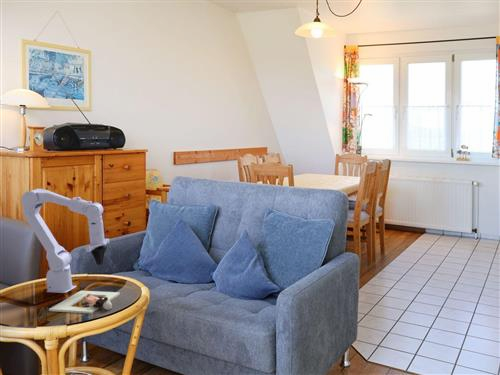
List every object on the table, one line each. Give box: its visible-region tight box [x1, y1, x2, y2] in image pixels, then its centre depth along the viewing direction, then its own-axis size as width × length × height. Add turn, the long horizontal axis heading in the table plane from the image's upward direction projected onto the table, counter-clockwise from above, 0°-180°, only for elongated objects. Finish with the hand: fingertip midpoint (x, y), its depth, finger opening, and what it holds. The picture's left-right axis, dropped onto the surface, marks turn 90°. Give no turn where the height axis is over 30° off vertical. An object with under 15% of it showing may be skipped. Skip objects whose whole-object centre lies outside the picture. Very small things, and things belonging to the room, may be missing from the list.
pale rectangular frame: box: [48, 290, 121, 315], centre depth 191 cm, size 18×20×1 cm
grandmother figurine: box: [81, 293, 113, 311], centre depth 184 cm, size 8×4×13 cm
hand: (99, 264), depth 205 cm, fingers closed
